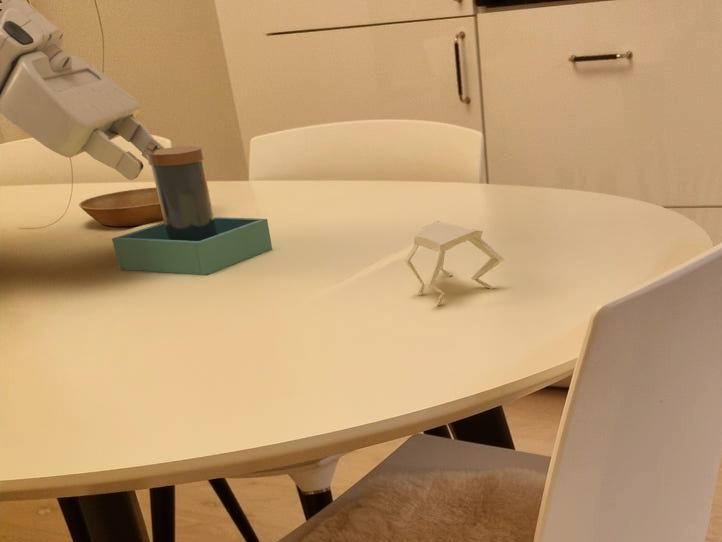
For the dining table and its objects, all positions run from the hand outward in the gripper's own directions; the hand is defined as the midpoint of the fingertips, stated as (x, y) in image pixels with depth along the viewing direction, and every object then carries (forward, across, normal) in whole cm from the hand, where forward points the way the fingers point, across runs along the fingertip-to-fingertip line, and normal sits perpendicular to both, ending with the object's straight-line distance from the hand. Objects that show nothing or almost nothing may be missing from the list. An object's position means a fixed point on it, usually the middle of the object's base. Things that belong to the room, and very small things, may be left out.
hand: (151, 166), depth 94 cm
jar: (+8, 0, -5) cm, 9 cm away
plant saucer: (-1, -29, -14) cm, 32 cm away
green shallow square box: (+8, 0, -5) cm, 10 cm away
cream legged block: (+27, +17, +13) cm, 35 cm away
